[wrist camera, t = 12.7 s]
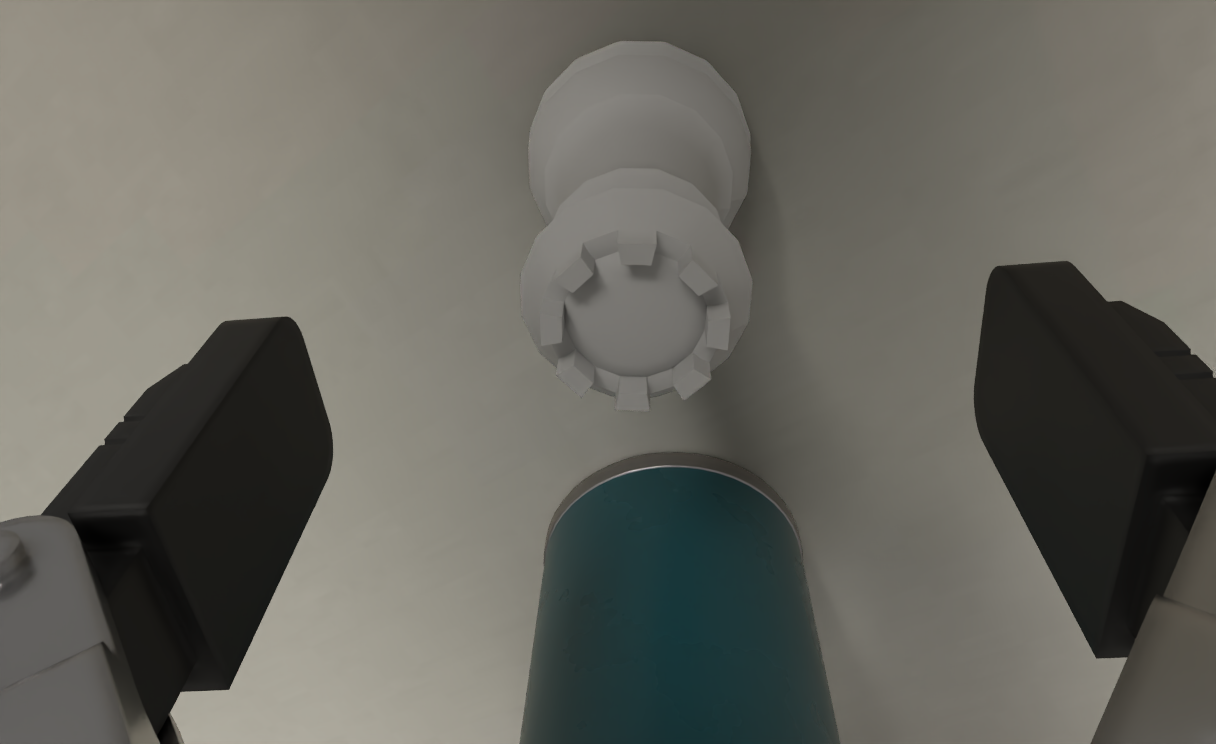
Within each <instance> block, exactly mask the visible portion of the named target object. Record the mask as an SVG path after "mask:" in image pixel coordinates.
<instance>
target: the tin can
mask: <svg viewBox="0 0 1216 744" xmlns="http://www.w3.org/2000/svg"><path fill="white" fill-rule="evenodd" d="M519 744H840V739H839V734H838V729H837V725H836V720H835V715H834V710H833V705H832V701H831V696H830V691H829V686H828V681H827V676H826V672H825V667H824V662H823V657H822V652H821V648H820V643H819V638H818V633H817V628H816V624H815V619H814V614H813V609H812V604H811V600H810V595H809V590H808V585H807V580H806V576H805V571H804V566H803V554H802V547H801V542H800V537H799V533H798V529H797V526H796V523H795V521H794V518H793V516H792V514H791V512H790V510H789V509H788V507H787V506H786V504H785V503H784V501H783V500H782V499H781V498H780V497H779V496H778V494H777V493H776V492H775V491H774V490H773V489H772V488H771V487H770V486H768V485H767V484H766V483H765V482H764V481H762V480H761V479H760V478H758V477H757V476H755V475H753V474H752V473H750V472H749V471H747V470H745V469H743V468H741V467H739V466H737V465H735V464H732V463H729V462H727V461H724V460H721V459H718V458H714V457H709V456H705V455H700V454H691V453H682V452H673V453H655V454H646V455H642V456H637V457H633V458H628V459H626V460H623V461H620V462H617V463H614V464H612V465H609V466H607V467H605V468H603V469H601V470H599V471H597V472H596V473H594V474H593V475H591V476H589V477H588V478H586V479H585V480H584V481H582V482H581V483H580V484H579V485H578V486H577V487H575V488H574V489H573V490H572V491H571V492H570V493H569V495H568V496H567V497H566V498H565V499H564V500H563V501H562V503H561V504H560V506H559V507H558V509H557V510H556V512H555V514H554V516H553V518H552V521H551V523H550V525H549V529H548V533H547V537H546V543H545V551H544V571H543V579H542V586H541V593H540V600H539V607H538V614H537V622H536V629H535V636H534V643H533V650H532V657H531V665H530V672H529V679H528V686H527V693H526V700H525V708H524V715H523V722H522V729H521V736H520V743H519Z"/></svg>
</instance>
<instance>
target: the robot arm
mask: <svg viewBox="0 0 1216 744" xmlns="http://www.w3.org/2000/svg"><path fill="white" fill-rule="evenodd" d="M1190 350H1191V349H1190V348H1189V347H1188V346H1187V345H1186V344H1185V343H1184V342H1183V341H1182V340H1181V339H1180V338H1179V337H1178V336H1177V335H1176V334H1175V333H1174V332H1173V331H1172V330H1171V329H1170V328H1169V327H1168V326H1167V325H1166V324H1165V323H1164V322H1162V321H1160V320H1158V319H1156V318H1154V317H1152V316H1150V315H1148V314H1146V313H1144V312H1142V311H1140V310H1138V309H1136V308H1134V307H1132V306H1130V305H1128V304H1126V303H1125V302H1123V301H1112V302H1107V301H1106V300H1105V299H1104V298H1103V297H1102V295H1101V294H1100V293H1099V292H1098V291H1097V290H1096V289H1095V288H1094V287H1093V286H1092V285H1091V283H1090V282H1089V281H1088V280H1087V279H1086V278H1085V277H1084V276H1083V275H1082V274H1081V273H1080V271H1079V270H1078V269H1077V268H1076V267H1075V266H1074V265H1073V264H1072V263H1070V262H1068V261H1060V262H1046V263H1032V264H1018V265H1005V266H997V267H995V268H994V269H993V270H992V272H991V274H990V277H989V279H988V283H987V288H986V295H985V304H984V312H983V320H982V328H981V336H980V344H979V352H978V360H977V368H976V376H975V384H974V408H975V416H976V422H977V427H978V430H979V433H980V436H981V439H982V441H983V443H984V445H985V447H986V449H987V451H988V453H989V455H990V456H991V458H992V460H993V462H994V464H995V466H996V468H997V470H998V472H999V474H1000V476H1001V477H1002V479H1003V481H1004V483H1005V485H1006V487H1007V489H1008V491H1009V493H1010V495H1011V497H1012V498H1013V500H1014V502H1015V504H1016V506H1017V508H1018V510H1019V512H1020V514H1021V516H1022V517H1023V519H1024V521H1025V523H1026V525H1027V527H1028V529H1029V531H1030V533H1031V535H1032V537H1033V538H1034V540H1035V542H1036V544H1037V546H1038V548H1039V550H1040V552H1041V554H1042V556H1043V558H1044V559H1045V561H1046V563H1047V565H1048V567H1049V569H1050V571H1051V573H1052V575H1053V577H1054V579H1055V580H1056V582H1057V584H1058V586H1059V588H1060V590H1061V592H1062V594H1063V596H1064V598H1065V600H1066V601H1067V603H1068V605H1069V607H1070V609H1071V611H1072V613H1073V615H1074V617H1075V619H1076V621H1077V622H1078V624H1079V626H1080V628H1081V630H1082V632H1083V634H1084V636H1085V638H1086V640H1087V642H1088V643H1089V645H1090V647H1091V649H1092V651H1093V653H1094V655H1095V657H1096V658H1120V657H1128V658H1127V660H1126V663H1125V665H1124V667H1123V670H1122V672H1121V674H1120V677H1119V679H1118V681H1117V684H1116V686H1115V688H1114V691H1113V693H1112V695H1111V698H1110V700H1109V702H1108V705H1107V707H1106V709H1105V712H1104V714H1103V716H1102V718H1101V721H1100V723H1099V725H1098V728H1097V730H1096V732H1095V735H1094V737H1093V739H1092V742H1091V744H1216V378H1213V371H1212V370H1211V369H1210V368H1209V367H1208V366H1207V365H1206V364H1205V363H1204V362H1203V361H1202V360H1201V359H1200V358H1199V357H1198V356H1197V355H1191V353H1190ZM104 440H105V445H100V446H99V447H98V448H97V449H96V450H95V451H94V452H93V454H92V455H91V456H90V457H89V458H88V460H87V461H86V462H85V463H84V464H83V465H82V467H81V468H80V469H79V470H78V471H77V473H76V474H75V475H74V476H73V477H72V478H71V480H70V481H69V482H68V483H67V484H66V486H65V487H64V488H63V489H62V490H61V492H60V493H59V494H58V495H57V496H56V497H55V499H54V500H53V501H52V502H51V503H50V505H49V506H48V507H47V508H46V509H45V510H44V512H43V513H42V514H41V515H37V516H26V517H20V518H15V519H11V520H7V521H3V522H0V744H184V741H183V739H182V736H181V733H180V731H179V729H178V727H177V725H176V723H175V721H174V719H173V717H172V715H171V713H170V711H171V709H172V708H173V706H174V704H175V702H176V700H177V698H178V696H179V694H180V692H185V691H210V690H229V689H230V686H231V684H232V682H233V680H234V678H235V676H236V674H237V671H238V669H239V667H240V665H241V663H242V661H243V659H244V656H245V654H246V652H247V650H248V648H249V646H250V644H251V642H252V639H253V637H254V635H255V633H256V631H257V629H258V627H259V624H260V622H261V620H262V618H263V616H264V614H265V612H266V609H267V607H268V605H269V603H270V601H271V599H272V597H273V595H274V592H275V590H276V588H277V586H278V584H279V582H280V580H281V577H282V575H283V573H284V571H285V569H286V567H287V565H288V563H289V560H290V558H291V556H292V554H293V552H294V550H295V548H296V545H297V543H298V541H299V539H300V537H301V535H302V533H303V530H304V528H305V526H306V524H307V522H308V520H309V518H310V516H311V513H312V511H313V509H314V507H315V505H316V503H317V501H318V498H319V496H320V494H321V492H322V490H323V488H324V486H325V483H326V481H327V479H328V477H329V474H330V471H331V466H332V459H333V439H332V432H331V427H330V423H329V420H328V417H327V413H326V410H325V407H324V404H323V400H322V397H321V394H320V391H319V387H318V384H317V381H316V378H315V374H314V371H313V368H312V365H311V361H310V358H309V355H308V352H307V348H306V345H305V342H304V339H303V336H302V333H301V331H300V329H299V327H298V325H297V324H296V322H295V321H294V320H293V319H291V318H290V317H273V318H260V319H246V320H232V321H225V322H223V323H221V324H220V325H219V326H218V327H217V329H216V330H215V331H214V332H213V334H212V335H211V336H210V337H209V339H208V340H207V341H206V342H205V344H204V345H203V346H202V347H201V348H200V350H199V351H198V352H197V353H196V355H195V356H194V357H193V358H192V360H191V361H190V362H189V363H188V364H184V365H182V366H181V367H179V368H178V369H176V370H175V371H173V372H172V373H170V374H169V375H167V376H166V377H164V378H163V379H161V380H160V381H158V382H157V383H155V384H154V385H153V386H151V387H150V388H148V389H147V390H146V391H145V392H144V393H143V395H142V396H141V397H140V398H139V399H138V400H137V402H136V403H135V404H134V405H133V406H132V408H131V409H130V410H129V411H128V412H127V413H126V415H125V416H124V422H119V423H118V424H117V425H116V426H115V428H114V429H113V430H112V431H111V432H110V434H109V435H108V436H107V437H106V438H105V439H104Z"/></svg>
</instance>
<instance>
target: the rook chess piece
mask: <svg viewBox="0 0 1216 744" xmlns="http://www.w3.org/2000/svg"><path fill="white" fill-rule="evenodd" d="M529 136H530V141H529V144H528V161H529V188H530V190H531V192H532V195H533V197H534V199H535V201H536V203H537V205H538V208H539V210H540V212H541V214H542V216H543V218H544V221H545V223H546V225H547V226H546V227H545V228H544V229H543V230H542V231H541V232H540V233H539V234H538V235H537V236H536V238H535V240H534V243H533V245H532V247H531V250H530V252H529V255H528V257H527V260H526V262H525V264H524V267H523V269H522V272H521V274H520V290H521V313H522V318H523V320H524V322H525V324H526V326H527V328H528V330H529V332H530V334H531V336H532V338H533V340H534V342H535V344H536V346H537V348H538V350H539V352H540V354H541V355H542V356H544V357H545V358H546V359H547V360H548V361H549V362H550V363H552V364H553V365H554V366H555V367H556V368H557V371H556V376H557V377H558V378H559V379H560V380H561V381H563V382H564V383H565V384H566V385H567V386H568V387H569V388H571V389H572V390H573V391H574V392H575V393H576V394H577V395H579V396H580V397H581V398H582V397H583V396H584V394H585V393H586V392H587V391H588V389H589V388H591V389H594V390H597V391H599V392H602V393H605V394H607V395H610V396H615V411H650V397H657V396H660V395H663V394H666V393H669V392H672V391H675V390H677V392H678V393H679V395H680V396H681V397H682V399H683V400H686V399H687V398H688V397H690V396H691V395H692V394H693V393H695V392H696V391H697V390H699V389H700V388H701V387H702V386H704V385H705V384H706V383H708V382H709V381H710V380H711V373H710V372H711V371H713V370H714V369H715V368H716V367H718V366H719V365H720V364H722V363H723V362H724V361H725V360H727V359H728V358H729V356H730V354H731V353H732V351H733V349H734V347H735V346H736V344H737V342H738V340H739V339H740V337H741V335H742V333H743V332H744V330H745V328H746V326H747V325H748V323H749V315H750V305H751V294H752V284H753V280H752V278H751V275H750V272H749V269H748V266H747V263H746V261H745V258H744V255H743V252H742V249H741V247H740V244H739V241H738V240H737V239H736V238H735V237H734V236H733V235H732V234H731V233H730V231H729V230H728V229H729V227H730V225H731V223H732V221H733V219H734V217H735V216H736V214H737V212H738V210H739V208H740V206H741V204H742V202H743V200H744V198H745V197H746V195H747V193H748V182H749V171H750V160H751V147H750V138H751V135H750V132H749V129H748V126H747V123H746V120H745V117H744V114H743V111H742V108H741V105H740V102H739V99H738V96H737V94H736V92H735V91H734V90H733V89H732V88H731V87H730V86H729V85H728V84H727V82H726V81H725V80H724V79H723V78H722V77H721V76H720V75H719V74H718V72H717V71H716V70H715V69H714V68H713V67H712V66H711V65H710V63H709V62H708V61H707V60H704V59H702V58H700V57H698V56H696V55H693V54H691V53H689V52H687V51H685V50H682V49H680V48H678V47H676V46H674V45H671V44H669V43H667V42H653V41H618V42H615V43H613V44H610V45H608V46H605V47H603V48H601V49H598V50H596V51H593V52H591V53H588V54H586V55H584V56H581V57H579V58H576V59H575V60H574V62H573V63H572V64H571V65H570V66H569V67H568V68H567V69H566V70H565V71H564V72H563V73H562V74H561V75H560V76H559V77H558V78H557V79H556V80H555V81H554V82H553V83H552V84H551V85H550V86H549V87H548V88H547V89H546V90H545V92H544V95H543V97H542V100H541V102H540V105H539V108H538V110H537V113H536V115H535V118H534V121H533V123H532V126H531V128H530V131H529Z"/></svg>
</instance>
